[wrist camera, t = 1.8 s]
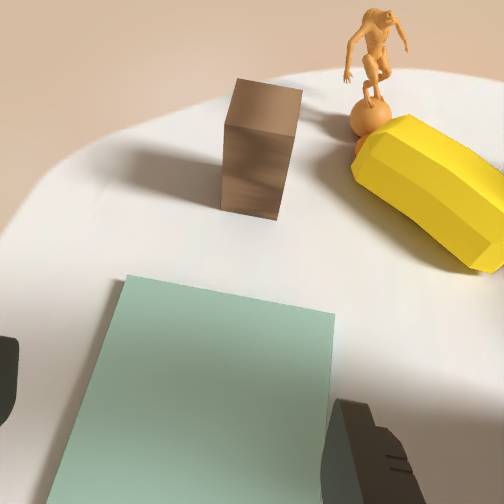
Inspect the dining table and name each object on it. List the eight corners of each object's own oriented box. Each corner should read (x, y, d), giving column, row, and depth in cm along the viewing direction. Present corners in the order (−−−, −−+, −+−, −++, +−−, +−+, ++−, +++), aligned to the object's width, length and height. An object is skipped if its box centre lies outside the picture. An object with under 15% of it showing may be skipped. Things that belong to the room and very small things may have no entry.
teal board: (331, 320, 37) (335, 314, 36) (311, 564, 28) (315, 564, 27) (129, 282, 37) (127, 274, 36) (49, 512, 28) (43, 510, 27)
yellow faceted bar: (490, 300, 39) (533, 248, 42) (538, 258, 33) (584, 202, 37) (327, 173, 45) (376, 136, 48) (344, 119, 39) (398, 81, 43)
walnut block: (284, 177, 44) (302, 90, 36) (276, 220, 41) (295, 136, 33) (231, 168, 44) (237, 78, 36) (220, 210, 41) (224, 123, 33)
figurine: (350, 162, 46) (391, 53, 36) (308, 125, 48) (335, 12, 38) (405, 128, 49) (458, 18, 39) (364, 95, 51) (403, -17, 41)
